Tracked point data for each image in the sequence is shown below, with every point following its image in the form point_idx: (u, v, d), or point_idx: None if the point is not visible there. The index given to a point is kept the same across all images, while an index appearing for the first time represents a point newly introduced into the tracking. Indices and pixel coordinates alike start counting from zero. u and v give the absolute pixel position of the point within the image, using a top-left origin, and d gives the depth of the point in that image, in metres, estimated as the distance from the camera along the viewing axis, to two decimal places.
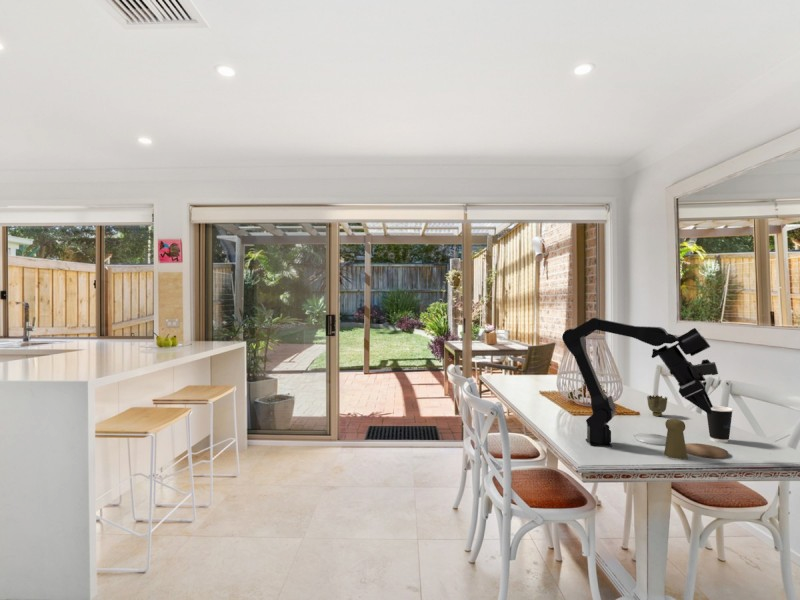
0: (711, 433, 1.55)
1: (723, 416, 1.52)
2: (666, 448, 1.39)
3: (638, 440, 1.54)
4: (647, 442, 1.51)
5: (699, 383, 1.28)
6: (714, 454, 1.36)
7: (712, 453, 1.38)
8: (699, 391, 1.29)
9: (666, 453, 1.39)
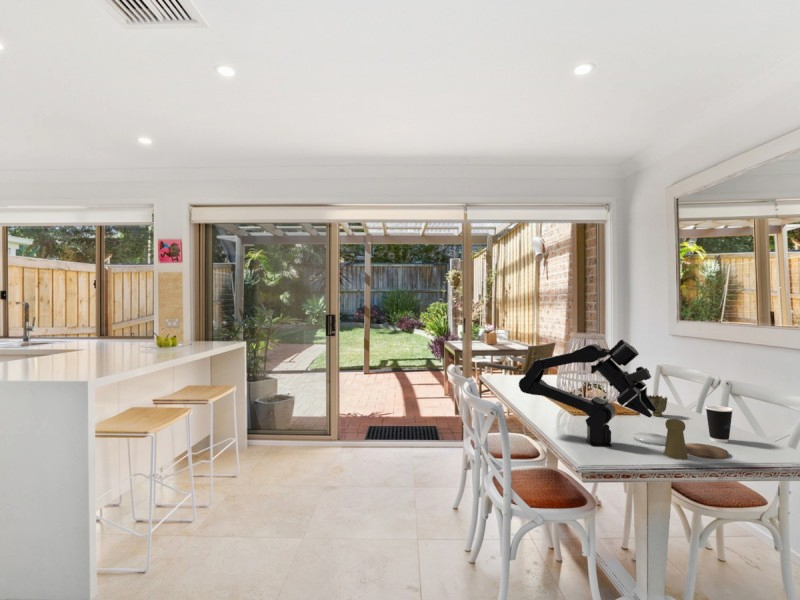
0: (711, 433, 1.55)
1: (723, 416, 1.52)
2: (666, 448, 1.39)
3: (640, 439, 1.53)
4: (650, 441, 1.50)
5: (632, 390, 1.37)
6: (714, 454, 1.36)
7: (712, 453, 1.38)
8: (634, 397, 1.38)
9: (666, 453, 1.39)
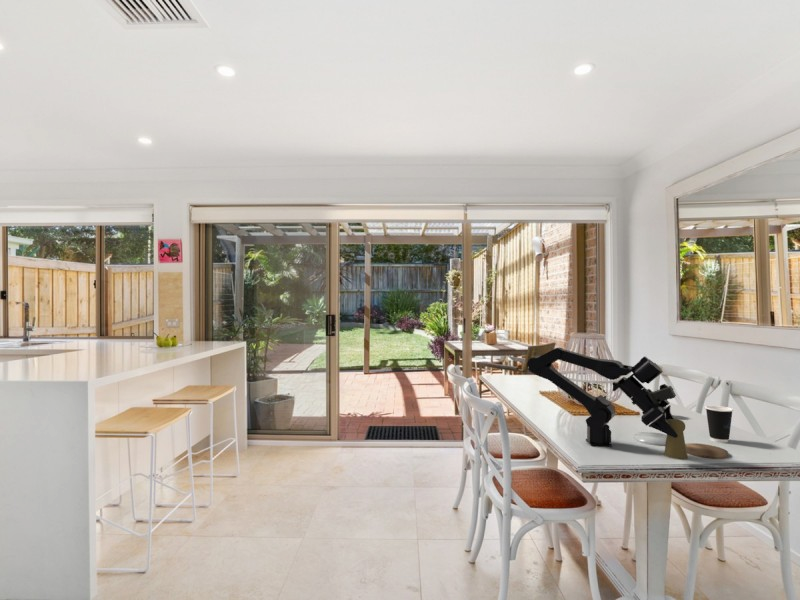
0: (711, 433, 1.55)
1: (723, 416, 1.52)
2: (666, 448, 1.39)
3: (643, 442, 1.52)
4: (654, 443, 1.50)
5: (657, 410, 1.33)
6: (714, 454, 1.36)
7: (712, 453, 1.38)
8: (660, 417, 1.34)
9: (666, 453, 1.39)
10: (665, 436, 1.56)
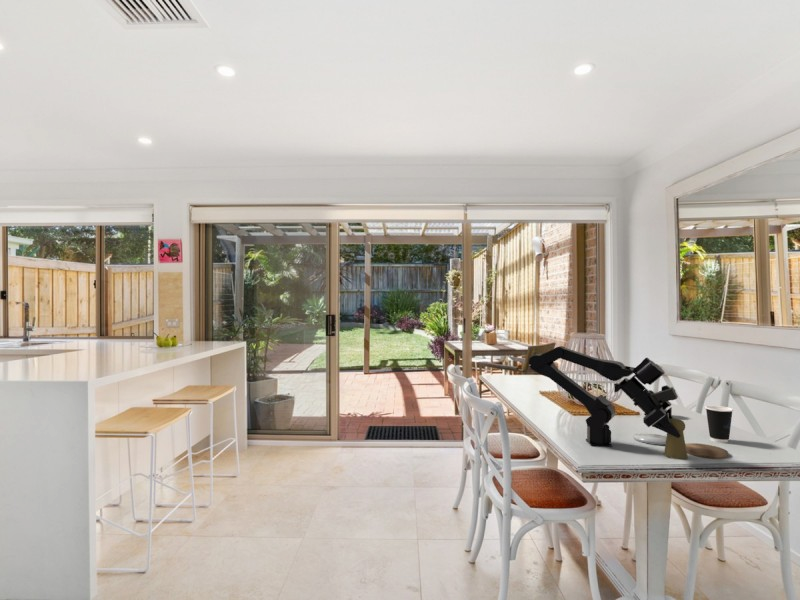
0: (711, 433, 1.55)
1: (723, 416, 1.52)
2: (666, 448, 1.39)
3: (647, 441, 1.51)
4: (658, 441, 1.50)
5: (659, 411, 1.33)
6: (714, 454, 1.36)
7: (712, 453, 1.38)
8: (663, 417, 1.35)
9: (666, 453, 1.39)
10: (663, 436, 1.57)
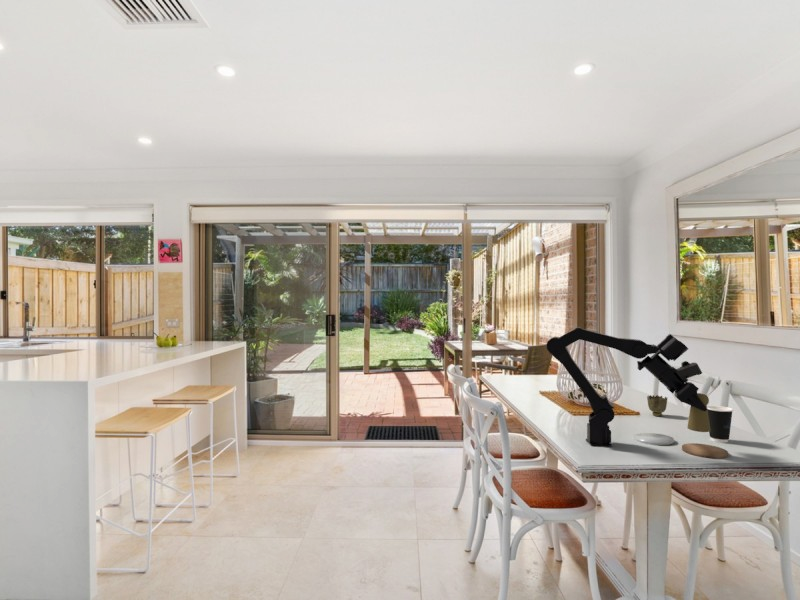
0: (711, 433, 1.55)
1: (723, 416, 1.52)
2: (691, 422, 1.41)
3: (652, 442, 1.50)
4: (663, 442, 1.49)
5: (693, 385, 1.34)
6: (714, 454, 1.36)
7: (712, 453, 1.38)
8: None
9: (691, 427, 1.40)
10: (659, 435, 1.58)
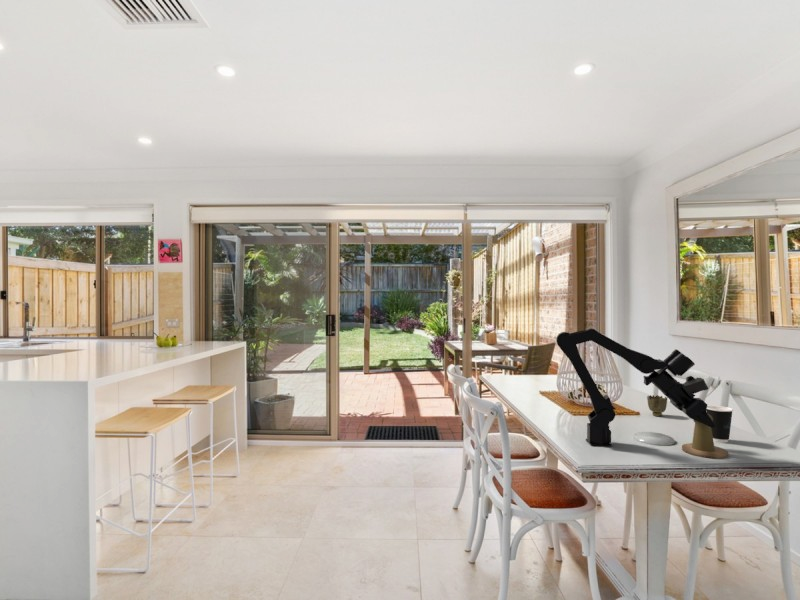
0: None
1: (723, 416, 1.52)
2: (696, 442, 1.42)
3: (660, 444, 1.49)
4: (669, 443, 1.50)
5: (702, 402, 1.35)
6: (714, 454, 1.36)
7: (712, 453, 1.38)
8: None
9: (696, 447, 1.42)
10: (655, 433, 1.59)
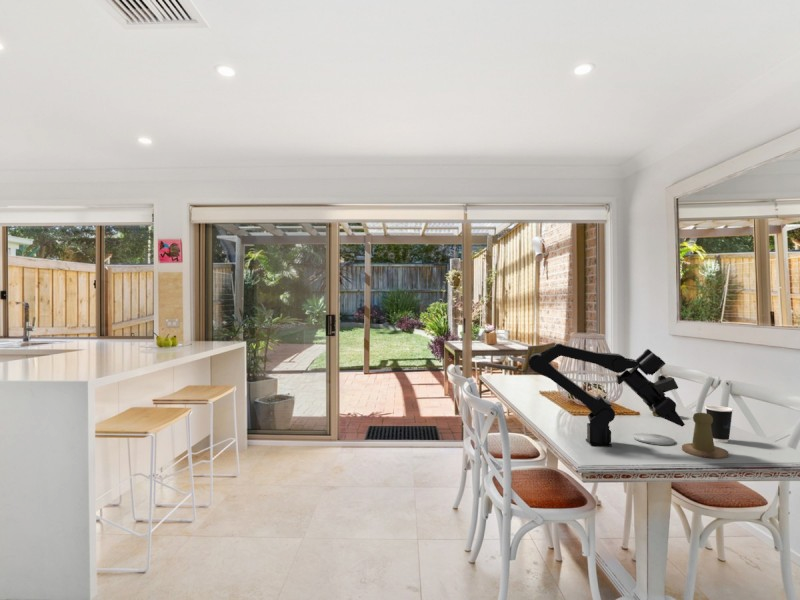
0: None
1: (723, 416, 1.52)
2: (696, 442, 1.42)
3: (665, 442, 1.49)
4: (672, 441, 1.51)
5: (671, 400, 1.37)
6: (714, 454, 1.36)
7: (712, 453, 1.38)
8: (672, 408, 1.38)
9: (696, 447, 1.42)
10: (651, 434, 1.59)
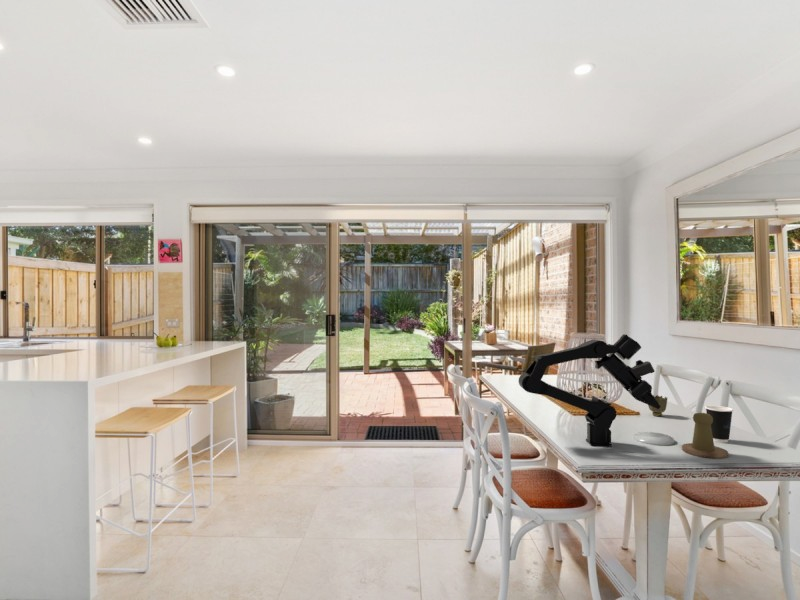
0: None
1: (723, 416, 1.52)
2: (696, 442, 1.42)
3: (670, 443, 1.50)
4: (673, 440, 1.52)
5: (647, 383, 1.40)
6: (714, 454, 1.36)
7: (712, 453, 1.38)
8: (648, 390, 1.41)
9: (696, 447, 1.42)
10: (646, 433, 1.60)
